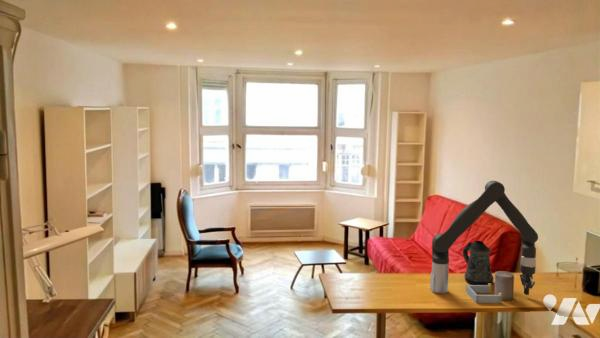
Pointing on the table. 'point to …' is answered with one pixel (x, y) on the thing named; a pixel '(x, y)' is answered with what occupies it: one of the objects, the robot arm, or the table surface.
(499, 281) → the pillar candle
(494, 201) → the robot arm
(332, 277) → the table surface
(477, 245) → the beer stein
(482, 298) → the tray
